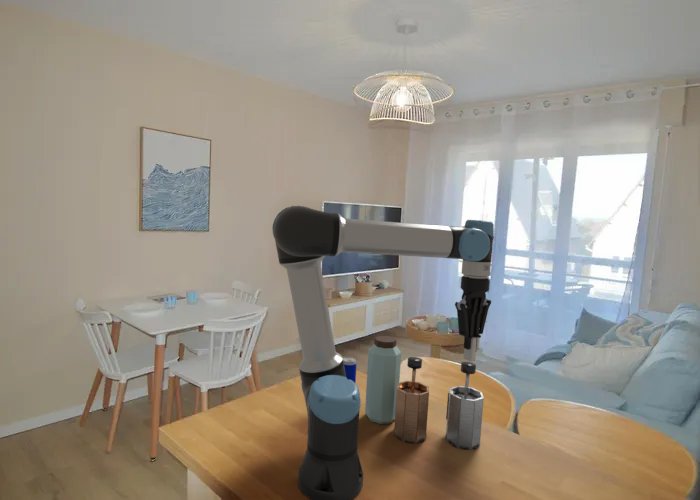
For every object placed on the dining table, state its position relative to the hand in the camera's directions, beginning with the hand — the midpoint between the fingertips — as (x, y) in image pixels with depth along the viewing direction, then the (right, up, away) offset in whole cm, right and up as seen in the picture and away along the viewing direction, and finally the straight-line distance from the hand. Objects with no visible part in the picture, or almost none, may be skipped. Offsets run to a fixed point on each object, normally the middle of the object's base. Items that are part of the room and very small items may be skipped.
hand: (469, 359), depth 115 cm
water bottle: (-24, -22, +13) cm, 35 cm away
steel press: (-1, -24, +2) cm, 24 cm away
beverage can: (-34, -20, +21) cm, 45 cm away
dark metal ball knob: (-1, -12, +1) cm, 12 cm away
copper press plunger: (-15, -11, +3) cm, 19 cm away
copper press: (-16, -23, +4) cm, 28 cm away
